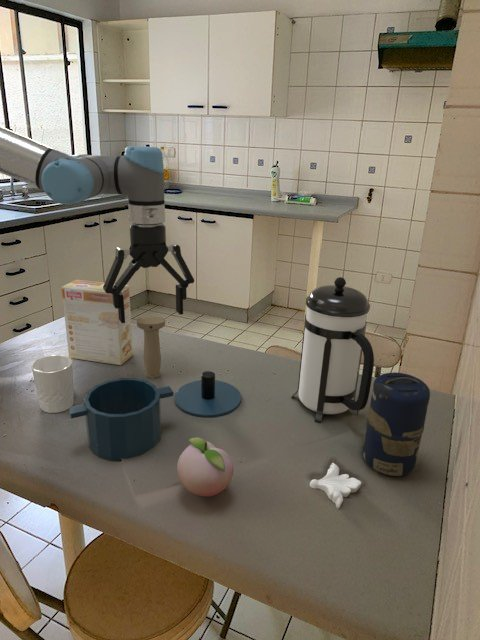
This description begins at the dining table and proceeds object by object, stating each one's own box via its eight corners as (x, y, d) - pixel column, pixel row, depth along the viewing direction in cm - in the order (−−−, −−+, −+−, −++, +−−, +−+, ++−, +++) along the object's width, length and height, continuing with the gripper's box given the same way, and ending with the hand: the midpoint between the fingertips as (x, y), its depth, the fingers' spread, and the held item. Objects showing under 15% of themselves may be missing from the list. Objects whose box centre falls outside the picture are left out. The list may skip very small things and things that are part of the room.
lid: (165, 391, 106) (164, 365, 104) (223, 379, 113) (224, 354, 110) (188, 426, 94) (188, 398, 92) (252, 410, 101) (254, 383, 98)
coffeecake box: (133, 354, 123) (130, 284, 116) (121, 366, 117) (116, 293, 109) (82, 347, 126) (76, 278, 119) (68, 358, 120) (60, 286, 112)
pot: (68, 430, 91) (63, 388, 88) (161, 409, 100) (160, 370, 96) (80, 473, 80) (75, 427, 77) (183, 445, 88) (183, 402, 85)
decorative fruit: (166, 492, 77) (164, 442, 73) (201, 468, 83) (201, 420, 79) (206, 522, 71) (207, 470, 67) (241, 494, 77) (243, 444, 73)
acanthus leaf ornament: (331, 467, 84) (333, 459, 84) (364, 488, 80) (365, 479, 79) (305, 486, 79) (306, 477, 79) (338, 509, 75) (340, 500, 74)
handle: (139, 373, 114) (137, 316, 108) (166, 372, 115) (165, 315, 109) (139, 382, 110) (136, 324, 104) (166, 381, 111) (165, 323, 105)
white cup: (41, 419, 95) (35, 375, 91) (34, 400, 101) (28, 359, 97) (81, 408, 99) (76, 367, 95) (71, 391, 105) (67, 352, 101)
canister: (418, 484, 81) (438, 395, 74) (362, 476, 82) (378, 388, 76) (409, 450, 90) (427, 368, 83) (359, 443, 91) (372, 362, 84)
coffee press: (279, 416, 99) (290, 282, 87) (303, 383, 112) (315, 263, 101) (360, 440, 92) (384, 298, 81) (375, 402, 105) (397, 276, 94)
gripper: (90, 230, 90) (99, 331, 98) (208, 223, 101) (208, 314, 109) (83, 224, 96) (92, 318, 104) (195, 218, 107) (196, 304, 115)
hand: (151, 316), depth 106 cm, fingers open, 13 cm apart
